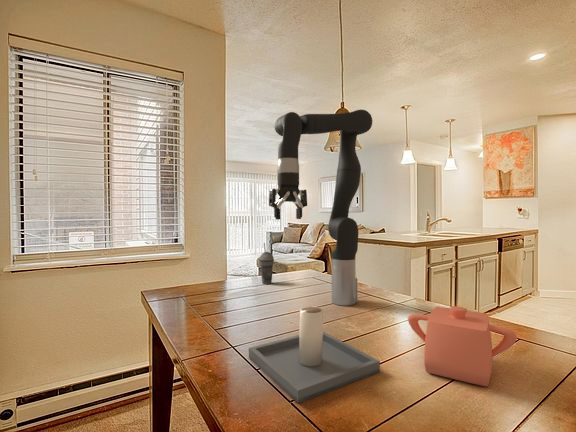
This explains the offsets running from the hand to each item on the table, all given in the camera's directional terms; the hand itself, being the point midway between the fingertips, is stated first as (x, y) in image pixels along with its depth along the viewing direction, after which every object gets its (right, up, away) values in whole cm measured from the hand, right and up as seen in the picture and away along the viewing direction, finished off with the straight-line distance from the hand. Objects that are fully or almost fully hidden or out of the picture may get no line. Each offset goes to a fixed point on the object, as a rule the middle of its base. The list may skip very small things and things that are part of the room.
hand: (288, 219), depth 112 cm
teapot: (+40, -34, -36) cm, 64 cm away
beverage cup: (-11, -32, +47) cm, 58 cm away
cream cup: (+5, -33, -36) cm, 49 cm away
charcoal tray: (+5, -34, -36) cm, 50 cm away
